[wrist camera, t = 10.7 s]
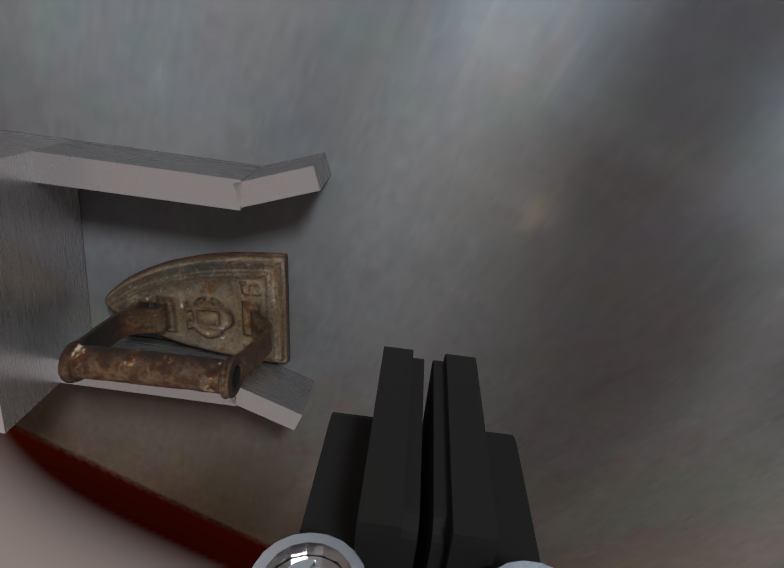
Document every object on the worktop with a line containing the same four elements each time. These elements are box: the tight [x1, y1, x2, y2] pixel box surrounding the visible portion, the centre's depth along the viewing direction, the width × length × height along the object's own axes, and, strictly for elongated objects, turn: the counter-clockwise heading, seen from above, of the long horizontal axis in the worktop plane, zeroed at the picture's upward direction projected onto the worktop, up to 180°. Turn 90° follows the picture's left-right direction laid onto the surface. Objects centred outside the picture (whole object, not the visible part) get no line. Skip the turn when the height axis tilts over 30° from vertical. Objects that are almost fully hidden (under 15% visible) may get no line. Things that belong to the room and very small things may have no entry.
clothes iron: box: [58, 252, 290, 399], centre depth 30 cm, size 7×11×10 cm, turn 88°
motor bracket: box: [0, 130, 331, 433], centre depth 27 cm, size 18×15×10 cm
